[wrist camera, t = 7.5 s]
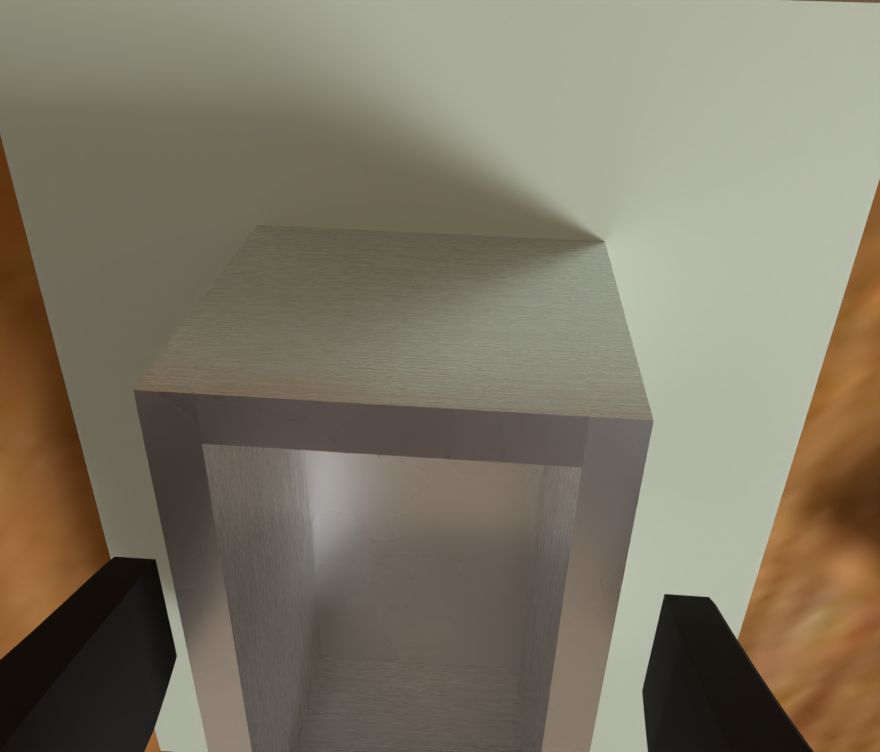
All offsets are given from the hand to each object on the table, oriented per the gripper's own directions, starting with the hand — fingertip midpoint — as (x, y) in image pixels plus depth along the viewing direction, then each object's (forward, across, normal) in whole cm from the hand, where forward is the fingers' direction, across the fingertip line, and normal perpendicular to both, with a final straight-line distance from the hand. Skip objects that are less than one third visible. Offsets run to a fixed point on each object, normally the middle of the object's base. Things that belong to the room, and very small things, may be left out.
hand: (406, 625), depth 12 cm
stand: (+6, 0, 0) cm, 6 cm away
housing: (+3, 0, 0) cm, 3 cm away
